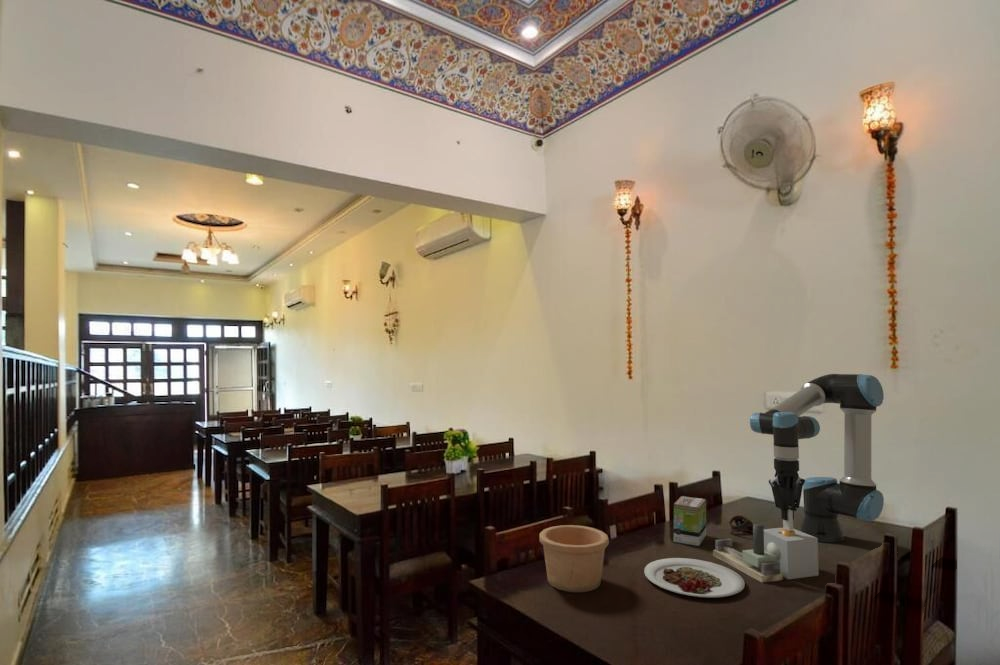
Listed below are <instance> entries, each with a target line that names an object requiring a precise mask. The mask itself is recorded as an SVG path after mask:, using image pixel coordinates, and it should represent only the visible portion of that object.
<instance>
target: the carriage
mask: <svg viewBox="0 0 1000 665" xmlns="http://www.w3.org/2000/svg"><path fill="white" fill-rule="evenodd" d="M764 527H765V526H764V524H760V523H753V532H752V540H753V541H752V542H753V544H752V547H753V548H752V549H745V550H744V549H742V552H741V553H742V555H743V560H744V561H746V562H748V563H750V564H752V565H754V566H756V567H761V563H763V562H772V561H776V556H775V555H773V554H771V553H769V552H766V551H764V529H765V528H764Z"/></svg>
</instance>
